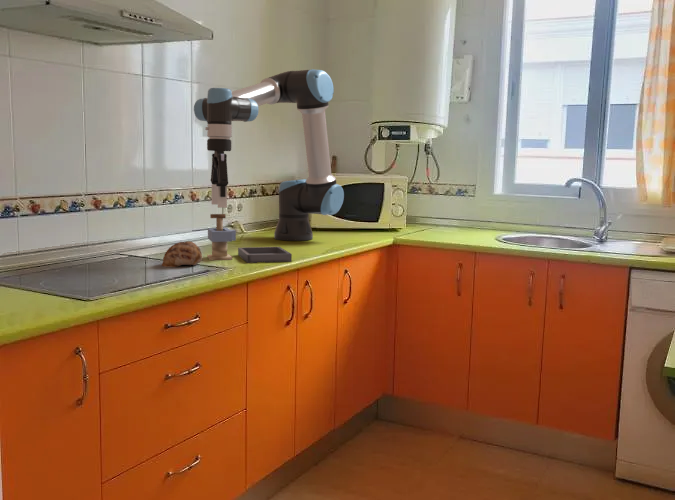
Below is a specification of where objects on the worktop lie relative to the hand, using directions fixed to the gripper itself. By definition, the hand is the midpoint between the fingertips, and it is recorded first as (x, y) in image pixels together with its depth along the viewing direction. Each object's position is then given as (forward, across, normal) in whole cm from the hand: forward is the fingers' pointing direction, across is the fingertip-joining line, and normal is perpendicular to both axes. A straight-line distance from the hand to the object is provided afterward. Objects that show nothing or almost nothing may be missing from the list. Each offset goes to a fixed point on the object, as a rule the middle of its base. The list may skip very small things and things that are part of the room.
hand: (218, 206), depth 230 cm
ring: (+11, 0, 0) cm, 11 cm away
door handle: (+17, 0, 0) cm, 17 cm away
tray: (+17, +2, +14) cm, 22 cm away
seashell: (+17, +11, -12) cm, 24 cm away
